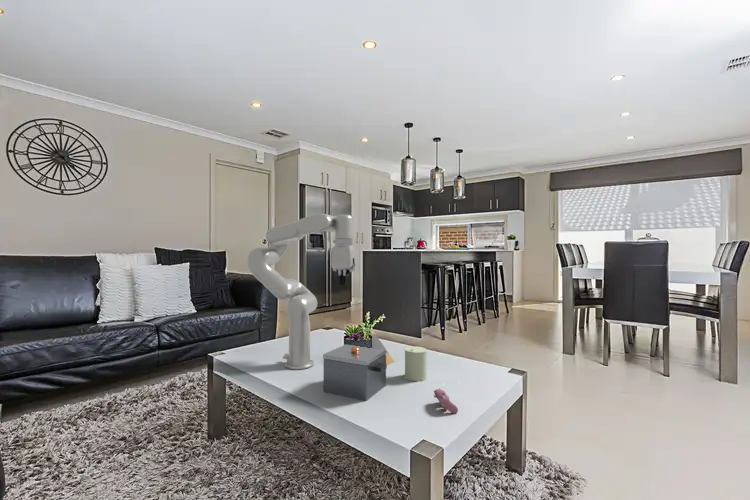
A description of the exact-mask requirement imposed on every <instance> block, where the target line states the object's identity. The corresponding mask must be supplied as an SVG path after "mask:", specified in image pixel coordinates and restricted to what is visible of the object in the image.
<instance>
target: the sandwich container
mask: <svg viewBox="0 0 750 500" xmlns="http://www.w3.org/2000/svg"><path fill="white" fill-rule="evenodd" d="M372 348H374V349H381V350H386V364H387V366H388V365H391V364H393V363H395V360H394V358H393V357H392V356H391V354H390V353H389V352H388V350H387V348H386V347H385V346H384V344H383V343H382V341H381V340H380V339H379V337H378V336H377V334H376V332H375V331H374V330H373V328H372Z"/></svg>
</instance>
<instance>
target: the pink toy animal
mask: <svg viewBox="0 0 750 500" xmlns="http://www.w3.org/2000/svg"><path fill="white" fill-rule="evenodd" d="M433 392H434V393H433V398H434V399H437V401H438V402H439V404H440V405H441V408H442V409H443V410H444V411H448V412H450V413H452V414H457V413H458V412H459V409H458V406H457V405H455V404H454V403H453V402H452V401H451V400H450V397H449V395H448V394H447V393H446V391H445V390H443V389H440V388H436V389H435V390H434V391H433Z"/></svg>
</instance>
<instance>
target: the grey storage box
mask: <svg viewBox="0 0 750 500" xmlns="http://www.w3.org/2000/svg"><path fill="white" fill-rule="evenodd" d="M387 366H388V365H387V364H386V354H385V355H383V356H382V357H380V358H378V359H377V360H375V361H373V362H372V363H370V364H368V365H367V366H364V365H359V364H353V363H347V362H341V361H335V360H329V359H324V358H323V385H322V386H323V387H322V388H323V391H324V392H325V393H328V394H332V395H333V394H334V395H338V396H342V397H346V398H352V399H356V400H360V401H364V402H367V401H368V400H370V399H371V398H372V397H373V396H375V395H376V394H377V393H379V391H381V390H382V389H383V388H384V387H386V386H387V369H388V368H387Z"/></svg>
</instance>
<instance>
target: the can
mask: <svg viewBox="0 0 750 500" xmlns="http://www.w3.org/2000/svg"><path fill="white" fill-rule="evenodd" d="M427 352H428V350H427V348H425V347H423V346H406V347H405V348H404V377H403V378H404V379H405V380H408V381H411V382H422V381H425V380H427V378H428V376H427V373H428V372H427V363H428V362H427V356H428V355H427V354H428V353H427Z"/></svg>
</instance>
